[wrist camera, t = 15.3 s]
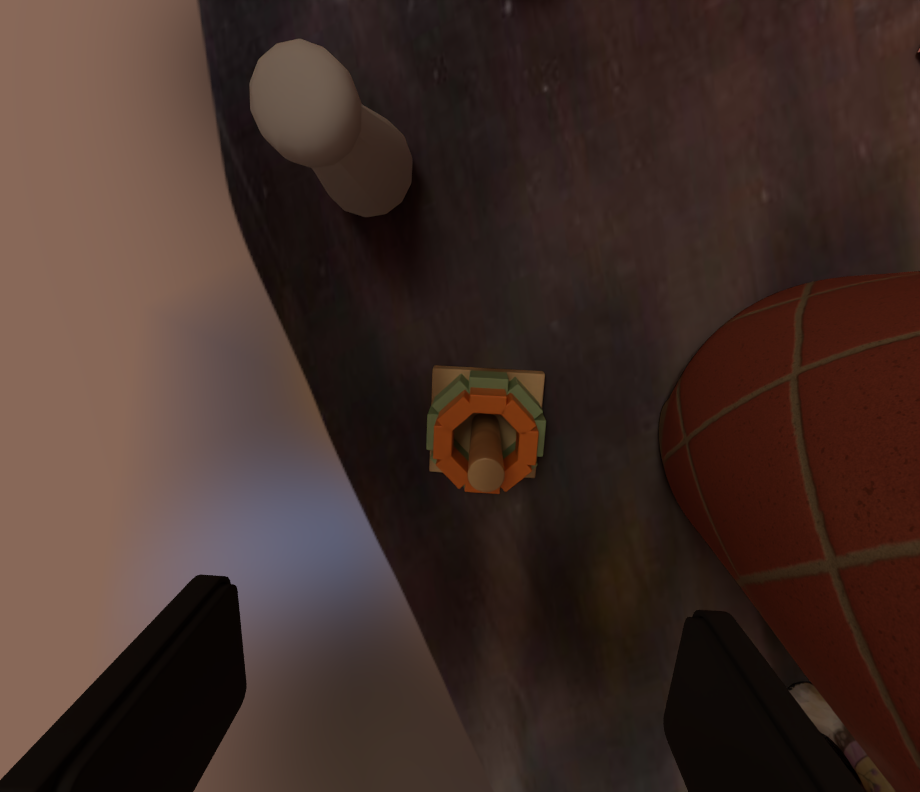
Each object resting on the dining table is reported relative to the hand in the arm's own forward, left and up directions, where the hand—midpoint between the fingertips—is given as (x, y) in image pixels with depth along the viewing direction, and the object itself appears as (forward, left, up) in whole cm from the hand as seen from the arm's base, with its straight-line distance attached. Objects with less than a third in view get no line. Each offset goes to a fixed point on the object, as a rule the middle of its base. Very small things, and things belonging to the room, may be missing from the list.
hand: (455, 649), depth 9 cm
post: (+1, -3, -24) cm, 24 cm away
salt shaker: (-7, +14, -24) cm, 29 cm away
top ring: (+1, -3, -21) cm, 21 cm away
